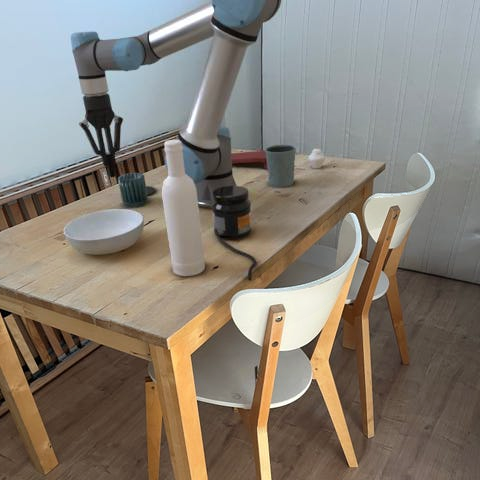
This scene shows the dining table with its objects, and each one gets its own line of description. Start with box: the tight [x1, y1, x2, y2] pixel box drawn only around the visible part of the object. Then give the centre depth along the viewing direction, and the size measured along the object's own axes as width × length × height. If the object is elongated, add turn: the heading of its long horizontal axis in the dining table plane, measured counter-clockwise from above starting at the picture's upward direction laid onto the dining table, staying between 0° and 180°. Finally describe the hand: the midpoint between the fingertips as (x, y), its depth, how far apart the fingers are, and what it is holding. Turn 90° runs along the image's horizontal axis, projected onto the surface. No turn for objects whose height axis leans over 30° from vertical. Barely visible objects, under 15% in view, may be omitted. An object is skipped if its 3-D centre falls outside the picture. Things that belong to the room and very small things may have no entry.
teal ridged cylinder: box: [117, 172, 149, 209], centre depth 158 cm, size 9×8×8 cm
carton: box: [231, 149, 268, 170], centre depth 192 cm, size 12×5×25 cm
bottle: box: [161, 139, 206, 277], centre depth 110 cm, size 8×8×30 cm
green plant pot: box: [264, 144, 297, 188], centre depth 166 cm, size 10×10×12 cm
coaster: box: [146, 185, 157, 197], centre depth 169 cm, size 11×11×1 cm
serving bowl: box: [62, 208, 145, 256], centre depth 130 cm, size 21×21×7 cm
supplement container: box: [211, 185, 253, 241], centre depth 132 cm, size 10×10×12 cm
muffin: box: [308, 148, 326, 170], centre depth 181 cm, size 6×6×7 cm
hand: (112, 175), depth 152 cm, fingers closed
